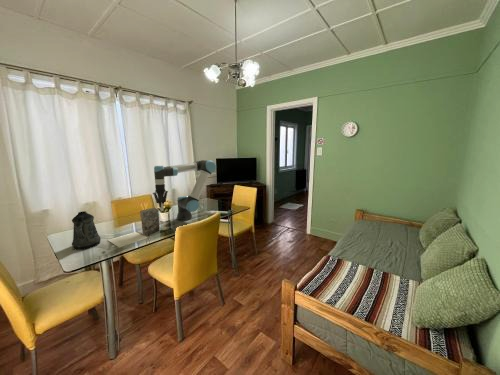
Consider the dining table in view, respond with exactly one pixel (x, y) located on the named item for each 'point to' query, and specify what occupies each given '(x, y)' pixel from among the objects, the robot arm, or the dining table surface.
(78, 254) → the dining table surface
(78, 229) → the black drawstring bag
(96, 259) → the dining table surface
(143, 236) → the mat
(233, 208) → the dining table surface
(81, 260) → the dining table surface
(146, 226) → the stone block
